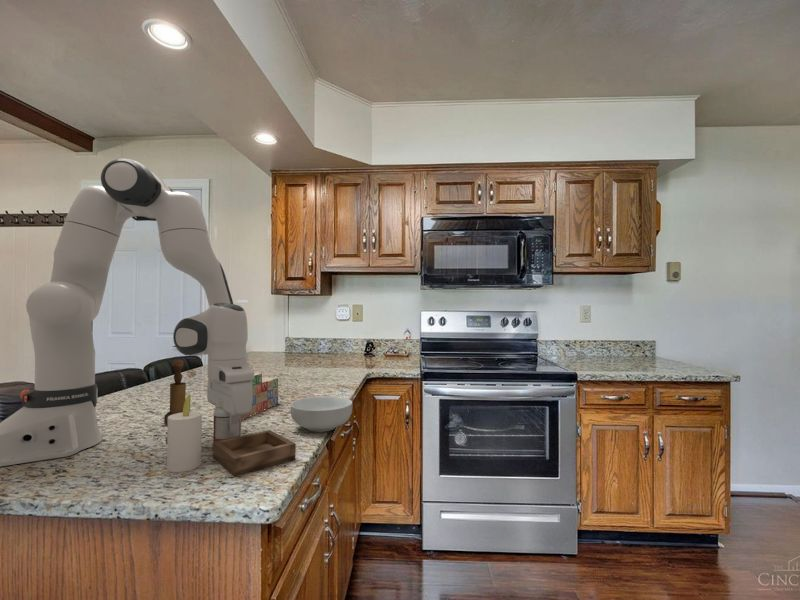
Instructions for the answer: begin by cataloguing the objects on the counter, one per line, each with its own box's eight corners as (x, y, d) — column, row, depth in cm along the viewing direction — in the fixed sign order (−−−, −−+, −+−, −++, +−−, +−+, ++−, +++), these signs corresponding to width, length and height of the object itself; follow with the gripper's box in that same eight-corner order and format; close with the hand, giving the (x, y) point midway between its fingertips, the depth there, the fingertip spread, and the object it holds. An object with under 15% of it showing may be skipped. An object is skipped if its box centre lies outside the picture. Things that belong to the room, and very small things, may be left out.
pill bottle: (220, 440, 99) (220, 394, 99) (245, 440, 99) (245, 394, 99) (208, 448, 93) (208, 400, 93) (234, 449, 93) (234, 400, 93)
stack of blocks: (262, 403, 137) (263, 368, 137) (278, 405, 135) (278, 368, 136) (218, 420, 117) (218, 378, 117) (236, 422, 115) (236, 379, 115)
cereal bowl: (326, 441, 98) (326, 413, 98) (276, 431, 106) (277, 405, 106) (364, 423, 113) (364, 399, 113) (318, 416, 121) (318, 393, 121)
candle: (170, 462, 85) (171, 391, 85) (204, 458, 87) (204, 390, 87) (161, 473, 79) (162, 398, 79) (197, 470, 81) (198, 396, 81)
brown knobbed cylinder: (194, 421, 115) (195, 359, 116) (171, 426, 110) (172, 361, 110) (182, 417, 119) (182, 357, 119) (159, 423, 113) (160, 360, 114)
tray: (234, 476, 77) (234, 458, 77) (212, 458, 87) (212, 442, 87) (295, 459, 86) (295, 443, 86) (269, 444, 96) (269, 429, 96)
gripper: (200, 366, 102) (200, 420, 101) (229, 376, 87) (228, 440, 86) (226, 364, 106) (225, 416, 106) (257, 373, 91) (257, 434, 91)
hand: (227, 427), depth 96 cm, fingers closed on pill bottle, 6 cm apart
